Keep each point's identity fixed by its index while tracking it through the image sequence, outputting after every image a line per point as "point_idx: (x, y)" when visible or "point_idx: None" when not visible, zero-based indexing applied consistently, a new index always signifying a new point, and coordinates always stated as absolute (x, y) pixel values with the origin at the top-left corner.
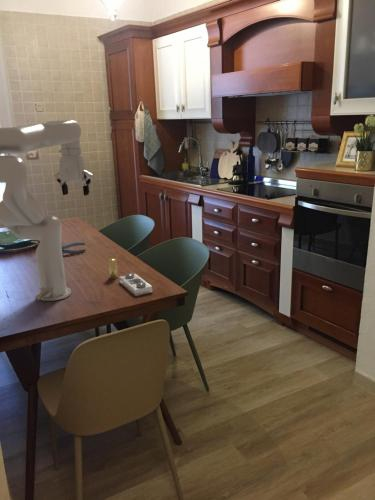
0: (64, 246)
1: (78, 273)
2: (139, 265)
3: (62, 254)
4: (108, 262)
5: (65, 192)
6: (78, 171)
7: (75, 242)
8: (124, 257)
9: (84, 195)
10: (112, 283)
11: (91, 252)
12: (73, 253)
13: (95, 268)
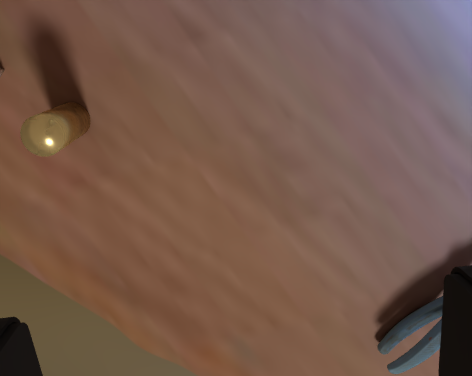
0: None
1: (251, 113)
2: (62, 274)
3: None
4: (63, 122)
5: (465, 332)
6: None
7: (427, 354)
8: (181, 336)
9: (11, 318)
10: (28, 49)
11: (350, 348)
12: (414, 312)
13: (217, 189)
